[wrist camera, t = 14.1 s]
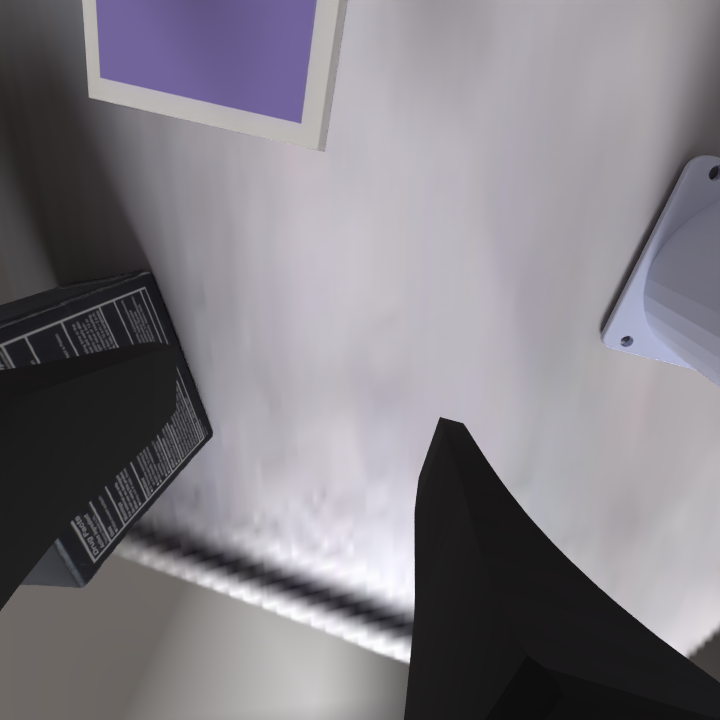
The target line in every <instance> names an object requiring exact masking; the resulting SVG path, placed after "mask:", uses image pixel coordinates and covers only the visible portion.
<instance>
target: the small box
mask: <svg viewBox="0 0 720 720" xmlns="http://www.w3.org/2000/svg"><path fill="white" fill-rule="evenodd" d="M154 341H157V342H160V343H164V344H168V345H172V346H175V347H177V387H176V411H175V413H174V414H173V415H172V417H171V418H170V420H169V421H168V422H167V424H166V425H165V426H164V428H163V429H162V430H161V431H160V433H159V434H158V435H157V436H156V438H155V439H154V440H153V441H152V442H151V443H150V444H149V445H148V446H147V447H146V448H145V449H144V450H143V451H142V452H141V453H140V454H139V455H138V456H137V457H136V458H135V459H134V460H133V461H132V462H131V463H130V464H129V465H128V466H126V467H125V468H124V469H123V470H122V471H121V472H120V473H119V474H118V475H117V476H116V477H115V478H114V479H113V480H112V481H111V482H110V483H109V484H108V485H107V486H106V487H105V488H104V489H103V490H102V491H101V492H100V493H99V494H98V495H96V496H95V497H94V498H93V499H92V500H91V501H90V502H89V503H88V505H87V506H86V507H85V508H84V509H83V510H82V511H81V512H80V513H79V514H78V515H77V516H76V517H75V518H74V520H73V521H72V522H71V523H70V524H69V526H68V527H67V528H66V529H65V530H64V531H63V533H62V534H61V535H60V536H59V537H58V538H57V540H56V541H55V542H54V543H53V544H52V546H51V547H50V548H49V549H48V550H47V552H46V553H45V554H44V555H43V557H42V558H41V559H40V560H39V562H38V563H37V564H36V565H35V567H34V568H33V569H32V570H31V572H30V573H29V574H28V575H27V577H26V578H25V579H24V580H23V582H22V583H21V584H20V585H44V586H45V585H47V586H60V587H74V588H82V587H84V586H86V585H87V584H88V582H89V581H90V580H91V579H92V578H93V576H94V575H95V574H96V573H97V571H98V570H99V568H100V567H101V565H102V564H103V562H104V561H105V560H106V559H107V558H108V557H109V556H110V554H111V553H112V552H113V551H114V549H115V548H116V546H117V545H118V544H119V543H120V542H121V541H122V539H123V538H124V537H125V536H126V535H127V533H128V532H129V531H131V529H132V528H133V526H134V525H135V524H136V523H137V522H138V521H139V520H140V519H141V517H142V516H143V515H144V514H145V513H146V512H147V511H148V510H149V509H150V507H151V506H152V505H153V504H154V502H155V501H156V500H157V499H158V498H159V497H160V495H161V494H162V493H163V492H164V491H165V490H166V489H167V487H168V486H169V485H170V484H171V483H172V482H173V480H174V479H175V478H176V477H177V476H178V474H179V473H180V472H181V471H182V470H183V469H184V468H185V467H186V466H187V464H188V463H189V462H190V461H191V459H192V458H193V457H194V456H195V455H196V454H197V453H198V452H199V450H200V449H201V448H202V447H203V446H204V445H205V444H206V443H207V442H208V441H209V440H210V439H211V438H212V436H213V435H212V432H211V429H210V426H209V423H208V421H207V418H206V415H205V413H204V410H203V408H202V405H201V402H200V400H199V397H198V395H197V392H196V389H195V387H194V384H193V381H192V379H191V376H190V373H189V371H188V368H187V365H186V363H185V360H184V358H183V355H182V352H181V350H180V347H179V344H178V342H177V339H176V336H175V334H174V331H173V329H172V326H171V323H170V321H169V318H168V315H167V313H166V310H165V307H164V305H163V303H162V300H161V297H160V295H159V292H158V289H157V287H156V284H155V282H154V279H153V276H152V274H151V273H150V272H148V271H144V270H139V271H135V272H132V273H129V274H127V275H126V274H121V275H120V276H111V277H107V278H105V279H94V280H91V281H87V282H84V281H79V282H74V283H71V284H67V285H65V286H59V287H57V288H54V289H51V290H48V291H45V292H42V293H38V294H35V295H32V296H29V297H26V298H23V299H19V300H16V301H13V302H10V303H6V304H3V305H0V370H4V369H11V368H17V367H23V366H29V365H34V364H39V363H45V362H50V361H55V360H61V359H66V358H71V357H76V356H81V355H85V354H90V353H94V352H99V351H104V350H108V349H113V348H118V347H123V346H128V345H133V344H138V343H145V342H154Z"/></svg>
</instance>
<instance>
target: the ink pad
mask: <svg viewBox="0 0 720 720" xmlns="http://www.w3.org/2000/svg"><path fill="white" fill-rule="evenodd" d="M82 2H83V17H84V31H85V46H86V61H87V76H88V90H89V98H94V99H98V100H102V101H107V102H111V103H115V104H120V105H124V106H128V107H133V108H137V109H141V110H146V111H150V112H154V113H158V114H163V115H167V116H171V117H176V118H180V119H184V120H189V121H193V122H197V123H202V124H206V125H210V126H215V127H219V128H223V129H227V130H232V131H236V132H240V133H245V134H249V135H253V136H258V137H262V138H266V139H271V140H275V141H279V142H284V143H288V144H292V145H297V146H301V147H305V148H309V149H314V150H318V151H323V152H324V151H325V145H326V138H327V132H328V125H329V118H330V112H331V105H332V99H333V92H334V85H335V79H336V72H337V66H338V59H339V53H340V46H341V39H342V33H343V26H344V20H345V13H346V6H347V0H82Z"/></svg>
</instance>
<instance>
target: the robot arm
mask: <svg viewBox="0 0 720 720" xmlns="http://www.w3.org/2000/svg"><path fill="white" fill-rule="evenodd" d="M715 166H717V167H718V170H719V172H718V175H717V176H716V177H715V178H714V179H712V180H711V179H710V178H709V172H710V170H711V169H712V168H713V167H715ZM625 336H630V338H629V340H628V342H626V343H624V344H620V341H621V339H622V338H623V337H625ZM601 341H602V343H603V344H604V345H605V346H606V347H608V348H611V349H615V350H619V351H623V352H627V353H631V354H635V355H639V356H643V357H647V358H651V359H655V360H659V361H663V362H667V363H671V364H675V365H679V366H683V367H687V368H691V369H695V370H697V371H698V372H700V373H701V374H702V375H704V376H705V377H706V378H708V379H709V380H710V381H712V382H713V383H714V384H716V385H717V386H718V387H720V157H715V156H711V155H702V156H697V157H695V158H693V159H692V160H690V161H689V162H688V163H687V165H686V166H685V168H684V170H683V172H682V174H681V176H680V178H679V180H678V182H677V184H676V186H675V188H674V190H673V192H672V194H671V196H670V198H669V200H668V202H667V204H666V206H665V208H664V210H663V211H662V213H661V215H660V217H659V219H658V221H657V223H656V225H655V227H654V229H653V231H652V233H651V235H650V237H649V239H648V241H647V243H646V245H645V247H644V249H643V251H642V253H641V255H640V257H639V259H638V261H637V263H636V265H635V267H634V269H633V271H632V273H631V275H630V277H629V279H628V281H627V283H626V285H625V287H624V289H623V291H622V293H621V295H620V297H619V299H618V301H617V303H616V305H615V307H614V309H613V311H612V313H611V315H610V317H609V319H608V321H607V323H606V325H605V327H604V329H603V331H602V333H601ZM176 387H177V347H175V346H172V345H168V344H164V343H160V342H157V341H154V342H145V343H138V344H133V345H128V346H123V347H118V348H113V349H108V350H104V351H99V352H94V353H90V354H85V355H81V356H76V357H71V358H66V359H61V360H55V361H50V362H45V363H39V364H34V365H29V366H23V367H17V368H11V369H4V370H0V611H1V609H2V608H3V607H4V605H5V604H6V603H7V601H8V600H9V598H10V597H11V596H12V594H13V593H14V592H15V590H16V589H17V588H18V586H19V585H20V584H21V583H22V582H23V580H24V579H25V578H26V577H27V575H28V574H29V573H30V572H31V570H32V569H33V568H34V567H35V565H36V564H37V563H38V562H39V560H40V559H41V558H42V557H43V555H44V554H45V553H46V552H47V550H48V549H49V548H50V547H51V546H52V544H53V543H54V542H55V541H56V540H57V538H58V537H59V536H60V535H61V534H62V533H63V531H64V530H65V529H66V528H67V527H68V526H69V524H70V523H71V522H72V521H73V520H74V518H75V517H76V516H77V515H78V514H79V513H80V512H81V511H82V510H83V509H84V508H85V507H86V506H87V505H88V503H89V502H90V501H91V500H92V499H93V498H94V497H95V496H96V495H98V494H99V493H100V492H101V491H102V490H103V489H104V488H105V487H106V486H107V485H108V484H109V483H110V482H111V481H112V480H113V479H114V478H115V477H116V476H117V475H118V474H119V473H120V472H121V471H122V470H123V469H124V468H125V467H126V466H128V465H129V464H130V463H131V462H132V461H133V460H134V459H135V458H136V457H137V456H138V455H139V454H140V453H141V452H142V451H143V450H144V449H145V448H146V447H147V446H148V445H149V444H150V443H151V442H152V441H153V440H154V439H155V438H156V436H157V435H158V434H159V433H160V431H161V430H162V429H163V428H164V426H165V425H166V424H167V422H168V421H169V420H170V418H171V417H172V415H173V414H174V413H175V411H176ZM404 720H720V683H719V682H718V681H717V680H715V679H714V678H713V677H711V676H710V675H709V674H707V673H706V672H705V671H703V670H702V669H701V668H699V667H698V666H696V665H695V664H694V663H693V662H691V661H690V660H689V659H687V658H686V657H684V656H683V655H682V654H680V653H679V652H678V651H676V650H675V649H674V648H672V647H671V646H670V645H668V644H667V643H666V642H664V641H663V640H662V639H660V638H659V637H658V636H656V635H655V634H654V633H653V632H651V631H650V630H649V629H648V628H646V627H645V626H644V625H643V624H642V623H640V622H639V621H638V620H637V619H636V618H634V617H633V616H632V615H631V614H629V613H628V612H627V611H626V610H625V609H623V608H622V607H621V606H620V605H619V604H617V603H616V602H615V601H614V600H613V599H612V598H610V597H609V596H608V595H607V594H606V593H605V592H604V591H602V590H601V589H600V588H599V587H598V586H597V585H596V584H595V583H594V582H592V581H591V580H590V579H589V578H588V577H587V576H586V575H585V574H584V573H583V572H582V571H581V570H580V569H579V568H578V567H577V566H576V565H574V564H573V563H572V562H571V561H570V560H569V559H568V558H567V557H566V556H565V555H564V554H563V553H562V552H561V551H560V550H559V549H558V548H557V547H556V546H555V545H554V544H553V543H552V541H551V540H550V539H549V538H548V537H547V536H546V535H545V534H544V533H543V532H542V530H541V529H540V528H539V527H538V526H537V525H536V524H535V523H534V522H533V521H532V519H531V518H530V517H529V516H528V515H527V513H526V512H525V511H524V510H523V509H522V507H521V506H520V505H519V504H518V502H517V501H516V500H515V498H514V497H513V496H512V495H511V493H510V492H509V491H508V489H507V488H506V487H505V485H504V484H503V483H502V481H501V480H500V479H499V477H498V476H497V474H496V473H495V471H494V470H493V468H492V467H491V465H490V464H489V463H488V461H487V459H486V458H485V456H484V455H483V453H482V452H481V450H480V449H479V447H478V446H477V444H476V442H475V441H474V439H473V438H472V436H471V434H470V433H469V431H468V430H467V428H466V427H465V425H464V424H463V423H460V422H456V421H453V420H449V419H445V418H441V417H440V418H439V421H438V424H437V427H436V430H435V433H434V436H433V438H432V441H431V444H430V447H429V450H428V453H427V456H426V459H425V461H424V464H423V467H422V470H421V473H420V476H419V480H418V488H417V496H416V504H415V609H414V624H413V635H412V646H411V657H410V667H409V677H408V687H407V697H406V706H405V716H404Z"/></svg>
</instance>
